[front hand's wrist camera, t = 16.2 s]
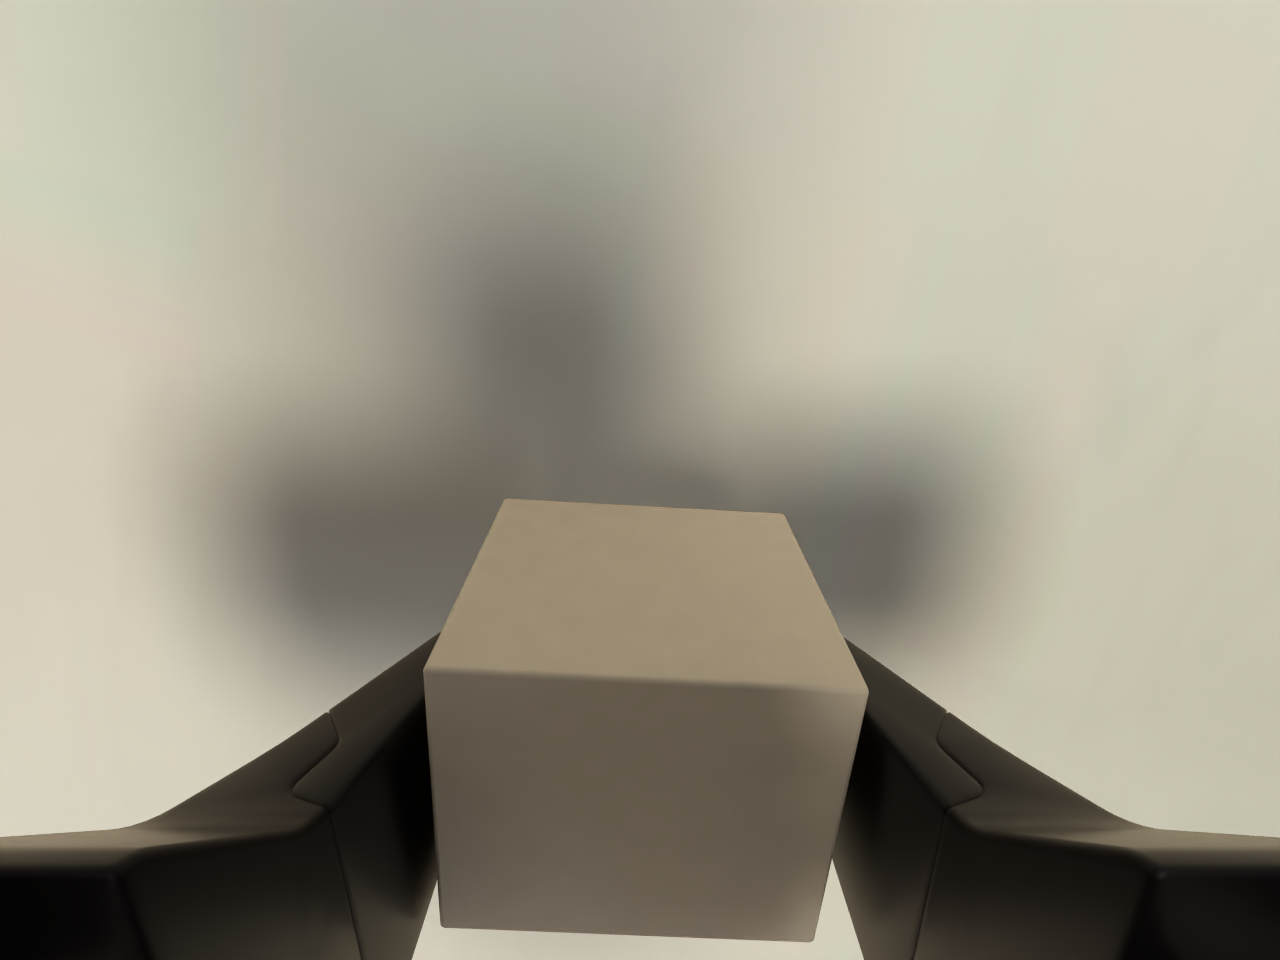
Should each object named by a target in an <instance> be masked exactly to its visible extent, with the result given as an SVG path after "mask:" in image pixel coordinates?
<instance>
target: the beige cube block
mask: <svg viewBox="0 0 1280 960" xmlns="http://www.w3.org/2000/svg"><path fill="white" fill-rule="evenodd" d="M423 674H424V689H425V703H426V718H427V733H428V748H429V762H430V777H431V792H432V806H433V821H434V836H435V850H436V865H437V880H438V895H439V909H440V922H441V926H442V927H445V928H467V929H492V930H517V931H542V932H566V933H591V934H616V935H641V936H666V937H691V938H716V939H741V940H765V941H790V942H812V941H813V940H814V936H815V932H816V927H817V923H818V918H819V914H820V909H821V905H822V900H823V896H824V891H825V887H826V882H827V878H828V874H829V869H830V865H831V860H832V856H833V851H834V847H835V842H836V838H837V833H838V829H839V824H840V820H841V815H842V811H843V806H844V802H845V797H846V793H847V788H848V784H849V779H850V775H851V770H852V766H853V761H854V757H855V752H856V748H857V743H858V739H859V734H860V730H861V725H862V721H863V716H864V712H865V708H866V703H867V699H868V694H869V691H868V687H867V685H866V683H865V681H864V679H863V677H862V675H861V673H860V671H859V669H858V667H857V665H856V662H855V660H854V658H853V656H852V654H851V652H850V650H849V648H848V646H847V644H846V642H845V640H844V638H843V636H842V634H841V631H840V629H839V627H838V625H837V623H836V621H835V619H834V617H833V615H832V613H831V611H830V609H829V607H828V605H827V602H826V600H825V598H824V596H823V594H822V592H821V590H820V588H819V586H818V584H817V582H816V580H815V578H814V576H813V574H812V571H811V569H810V567H809V565H808V563H807V561H806V559H805V557H804V555H803V553H802V551H801V549H800V547H799V545H798V542H797V540H796V538H795V536H794V534H793V532H792V530H791V528H790V526H789V524H788V522H787V520H786V518H785V516H784V515H783V514H781V513H763V512H745V511H726V510H708V509H689V508H671V507H653V506H634V505H616V504H598V503H579V502H561V501H542V500H524V499H504V501H503V503H502V505H501V507H500V509H499V512H498V514H497V516H496V518H495V520H494V522H493V524H492V526H491V528H490V530H489V533H488V535H487V537H486V539H485V541H484V543H483V545H482V547H481V549H480V551H479V554H478V556H477V558H476V560H475V562H474V564H473V566H472V568H471V570H470V572H469V575H468V577H467V579H466V581H465V583H464V585H463V587H462V589H461V591H460V594H459V596H458V598H457V600H456V602H455V604H454V606H453V608H452V610H451V612H450V615H449V617H448V619H447V621H446V623H445V625H444V627H443V629H442V631H441V633H440V636H439V638H438V640H437V642H436V644H435V646H434V648H433V650H432V652H431V654H430V657H429V659H428V661H427V663H426V665H425V667H424V669H423Z"/></svg>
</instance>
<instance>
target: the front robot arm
mask: <svg viewBox="0 0 1280 960" xmlns="http://www.w3.org/2000/svg"><path fill="white" fill-rule="evenodd" d="M440 633H441V632H440ZM440 633H438V634H437V635H436V636H434V637H433V638H431V639H430V640H428V641H427V642H426V643H424V644H423V645H421V646H420V647H418V648H417V649H416V650H414V651H413V652H411V653H410V654H408V655H407V656H406V657H404V658H403V659H401V660H400V661H399V662H397V663H396V664H394V665H393V666H391V667H390V668H389V669H387V670H386V671H384V672H383V673H381V674H380V675H379V676H377V677H376V678H374V679H373V680H371V681H370V682H369V683H367V684H366V685H364V686H363V687H362V688H360V689H359V690H357V691H356V692H354V693H353V694H352V695H350V696H349V697H347V698H346V699H344V700H343V701H342V702H340V703H339V704H337V705H336V706H334V707H333V708H332V709H330V710H329V713H324V714H323V715H321V716H320V717H319V718H317V719H316V720H314V721H313V722H311V723H310V724H309V725H307V726H306V727H304V728H303V729H301V730H300V731H298V732H297V733H295V734H294V735H292V736H291V737H289V738H288V739H286V740H285V741H283V742H282V743H280V744H279V745H277V746H275V747H274V748H272V749H271V750H269V751H267V752H266V753H264V754H262V755H261V756H259V757H258V758H256V759H254V760H253V761H251V762H249V763H248V764H246V765H244V766H243V767H241V768H239V769H238V770H236V771H234V772H233V773H231V774H229V775H228V776H226V777H224V778H223V779H221V780H219V781H218V782H216V783H214V784H212V785H211V786H209V787H207V788H206V789H204V790H202V791H201V792H199V793H197V794H196V795H194V796H192V797H191V798H189V799H187V800H186V801H184V802H182V803H181V804H179V805H177V806H175V807H174V808H172V809H170V810H168V811H167V812H165V813H163V814H161V815H159V816H157V817H154V818H152V819H150V820H147V821H145V822H142V823H139V824H136V825H133V826H129V827H124V828H120V829H112V830H99V831H85V832H70V833H55V834H41V835H26V836H12V837H0V960H412V957H413V954H414V951H415V947H416V944H417V941H418V938H419V935H420V932H421V929H422V926H423V922H424V919H425V916H426V913H427V910H428V907H429V904H430V901H431V898H432V894H433V891H434V888H435V885H436V882H437V865H436V850H435V836H434V821H433V806H432V792H431V777H430V762H429V748H428V733H427V718H426V703H425V689H424V674H423V669H424V667H425V665H426V663H427V661H428V659H429V657H430V654H431V652H432V650H433V648H434V646H435V644H436V642H437V640H438V638H439V636H440ZM843 638H844V637H843ZM844 640H845V642H846V644H847V646H848V648H849V650H850V652H851V654H852V656H853V658H854V660H855V662H856V665H857V667H858V669H859V671H860V673H861V675H862V677H863V679H864V681H865V683H866V685H867V687H868V691H869V694H868V699H867V703H866V708H865V712H864V716H863V721H862V725H861V730H860V734H859V739H858V743H857V748H856V752H855V757H854V761H853V766H852V770H851V775H850V779H849V784H848V788H847V793H846V797H845V802H844V806H843V811H842V815H841V820H840V824H839V829H838V833H837V838H836V842H835V847H834V851H833V856H832V859H833V863H834V866H835V869H836V872H837V875H838V878H839V882H840V885H841V888H842V891H843V894H844V897H845V900H846V904H847V907H848V910H849V913H850V916H851V919H852V923H853V926H854V929H855V932H856V935H857V938H858V941H859V945H860V948H861V951H862V954H863V957H864V960H1280V838H1276V837H1262V836H1247V835H1233V834H1218V833H1204V832H1189V831H1175V830H1162V829H1154V828H1150V827H1145V826H1142V825H1139V824H1135V823H1132V822H1129V821H1127V820H1125V819H1122V818H1120V817H1118V816H1115V815H1113V814H1112V813H1110V812H1108V811H1106V810H1104V809H1103V808H1101V807H1099V806H1097V805H1096V804H1094V803H1092V802H1091V801H1089V800H1087V799H1086V798H1084V797H1082V796H1081V795H1079V794H1077V793H1076V792H1074V791H1072V790H1071V789H1069V788H1067V787H1066V786H1064V785H1062V784H1061V783H1059V782H1057V781H1056V780H1054V779H1052V778H1051V777H1049V776H1047V775H1046V774H1044V773H1042V772H1041V771H1039V770H1037V769H1036V768H1034V767H1032V766H1031V765H1029V764H1027V763H1026V762H1024V761H1022V760H1021V759H1019V758H1018V757H1016V756H1014V755H1013V754H1011V753H1010V752H1008V751H1006V750H1005V749H1003V748H1001V747H1000V746H998V745H997V744H995V743H993V742H992V741H991V740H989V739H988V738H986V737H985V736H983V735H982V734H980V733H979V732H977V731H976V730H974V729H973V728H971V727H970V726H968V725H967V724H965V723H964V722H963V721H961V720H960V719H958V718H957V717H956V716H954V715H953V714H951V713H947V711H946V710H945V709H944V708H943V707H941V706H940V705H938V704H937V703H936V702H934V701H933V700H931V699H930V698H929V697H927V696H926V695H924V694H923V693H921V692H920V691H919V690H917V689H916V688H914V687H913V686H912V685H910V684H909V683H907V682H906V681H905V680H903V679H902V678H900V677H899V676H898V675H896V674H895V673H893V672H892V671H890V670H889V669H888V668H886V667H885V666H883V665H882V664H881V663H879V662H878V661H876V660H875V659H874V658H872V657H871V656H869V655H868V654H866V653H865V652H864V651H862V650H861V649H859V648H858V647H857V646H855V645H854V644H852V643H851V642H850V641H848V640H847V639H845V638H844Z"/></svg>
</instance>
